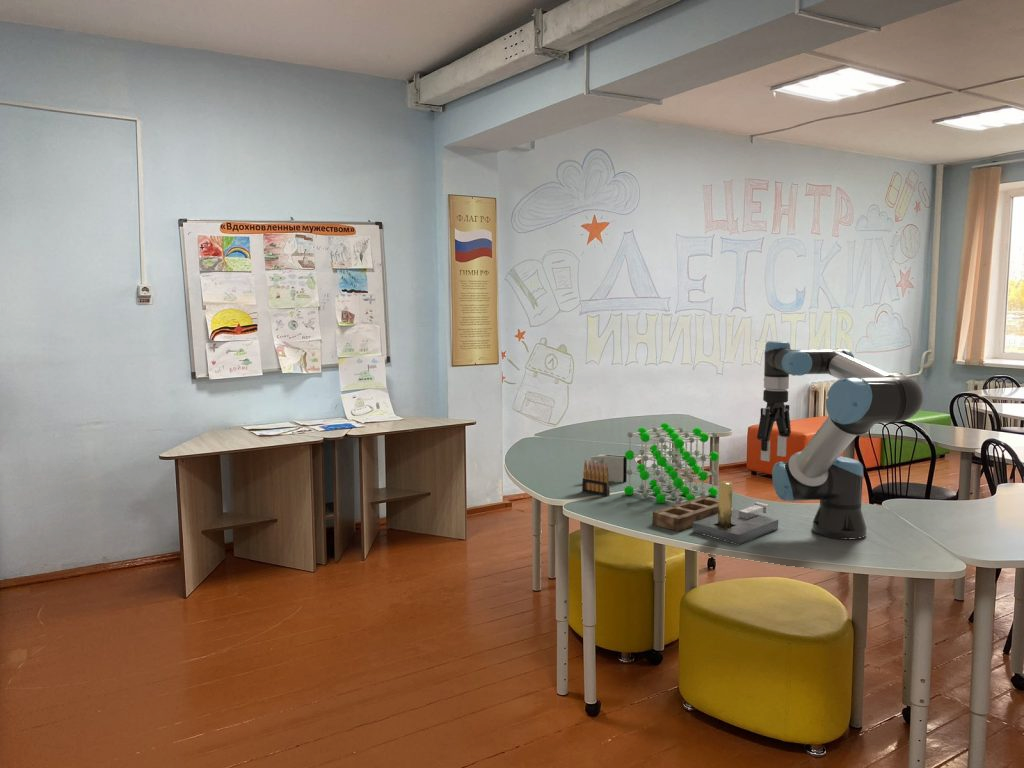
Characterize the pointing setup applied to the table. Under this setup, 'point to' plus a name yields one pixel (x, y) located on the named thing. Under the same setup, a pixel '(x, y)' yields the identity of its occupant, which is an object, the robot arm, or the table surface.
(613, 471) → the grey rectangular box
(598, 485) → the ammunition clip
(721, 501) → the peg
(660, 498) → the molecular structure model
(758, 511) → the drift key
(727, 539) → the socket housing
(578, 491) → the table surface
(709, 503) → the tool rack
